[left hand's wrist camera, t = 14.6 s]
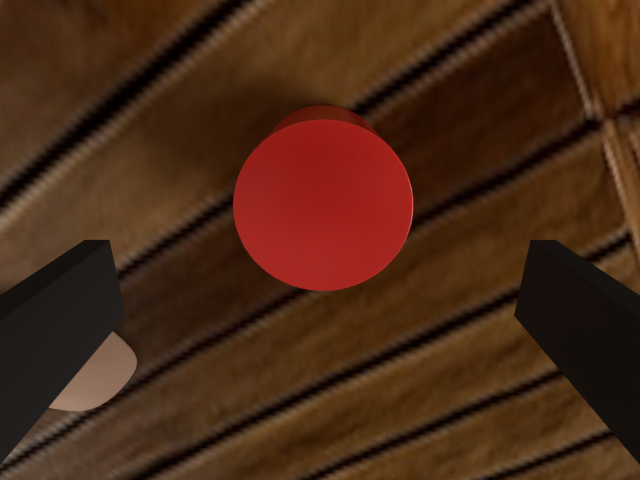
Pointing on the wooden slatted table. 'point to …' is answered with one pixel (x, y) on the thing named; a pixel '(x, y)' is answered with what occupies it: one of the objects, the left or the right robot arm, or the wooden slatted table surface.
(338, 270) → the canister
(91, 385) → the anatomical model
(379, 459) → the wooden slatted table surface
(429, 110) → the wooden slatted table surface
